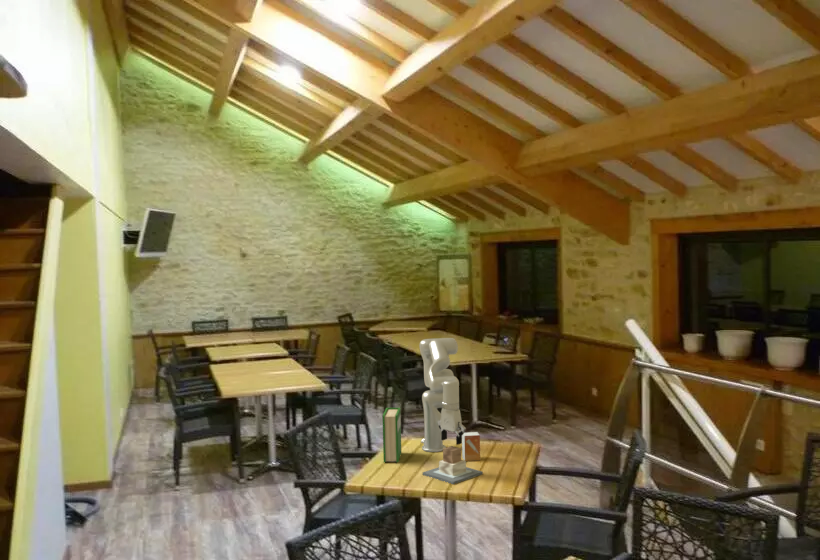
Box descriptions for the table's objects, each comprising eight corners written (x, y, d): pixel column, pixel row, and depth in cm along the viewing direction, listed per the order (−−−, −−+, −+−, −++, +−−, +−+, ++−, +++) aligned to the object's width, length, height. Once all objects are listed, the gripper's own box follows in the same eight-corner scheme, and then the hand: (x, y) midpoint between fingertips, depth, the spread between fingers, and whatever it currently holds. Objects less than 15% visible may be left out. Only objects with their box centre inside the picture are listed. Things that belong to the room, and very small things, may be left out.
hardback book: (398, 463, 349) (397, 415, 348) (383, 463, 350) (382, 415, 349) (401, 452, 367) (400, 407, 366) (387, 452, 367) (386, 407, 366)
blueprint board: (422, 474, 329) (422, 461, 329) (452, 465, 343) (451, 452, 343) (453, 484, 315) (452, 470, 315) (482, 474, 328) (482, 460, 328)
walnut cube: (443, 461, 329) (442, 448, 329) (452, 458, 333) (451, 446, 333) (452, 463, 324) (452, 451, 324) (461, 460, 328) (460, 448, 328)
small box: (464, 461, 349) (464, 435, 348) (462, 457, 355) (461, 432, 355) (480, 460, 350) (480, 434, 349) (477, 456, 356) (477, 431, 356)
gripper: (432, 404, 332) (433, 439, 333) (459, 410, 319) (459, 447, 320) (443, 401, 337) (444, 436, 338) (470, 407, 324) (470, 444, 325)
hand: (451, 441), depth 329 cm, fingers open, 9 cm apart
